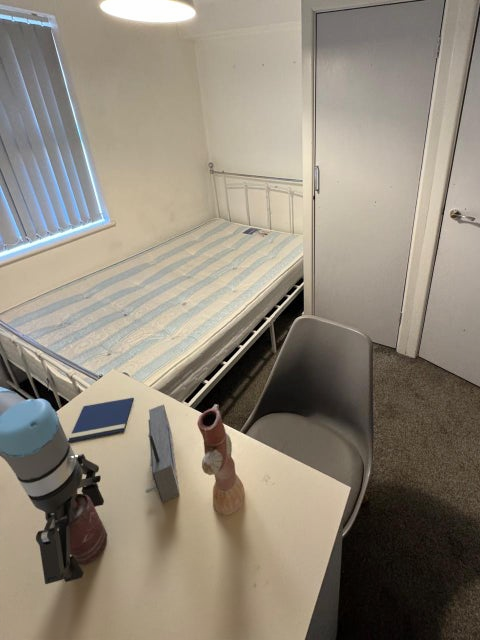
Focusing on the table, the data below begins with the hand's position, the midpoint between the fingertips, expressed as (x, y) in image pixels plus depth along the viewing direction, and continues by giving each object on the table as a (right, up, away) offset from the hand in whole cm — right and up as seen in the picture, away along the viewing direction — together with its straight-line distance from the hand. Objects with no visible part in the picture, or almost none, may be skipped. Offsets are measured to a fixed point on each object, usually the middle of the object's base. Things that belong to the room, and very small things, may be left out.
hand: (86, 537), depth 66 cm
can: (0, -3, +1) cm, 3 cm away
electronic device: (+9, +4, +16) cm, 18 cm away
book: (-14, +9, +27) cm, 32 cm away
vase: (+27, 0, +9) cm, 28 cm away
